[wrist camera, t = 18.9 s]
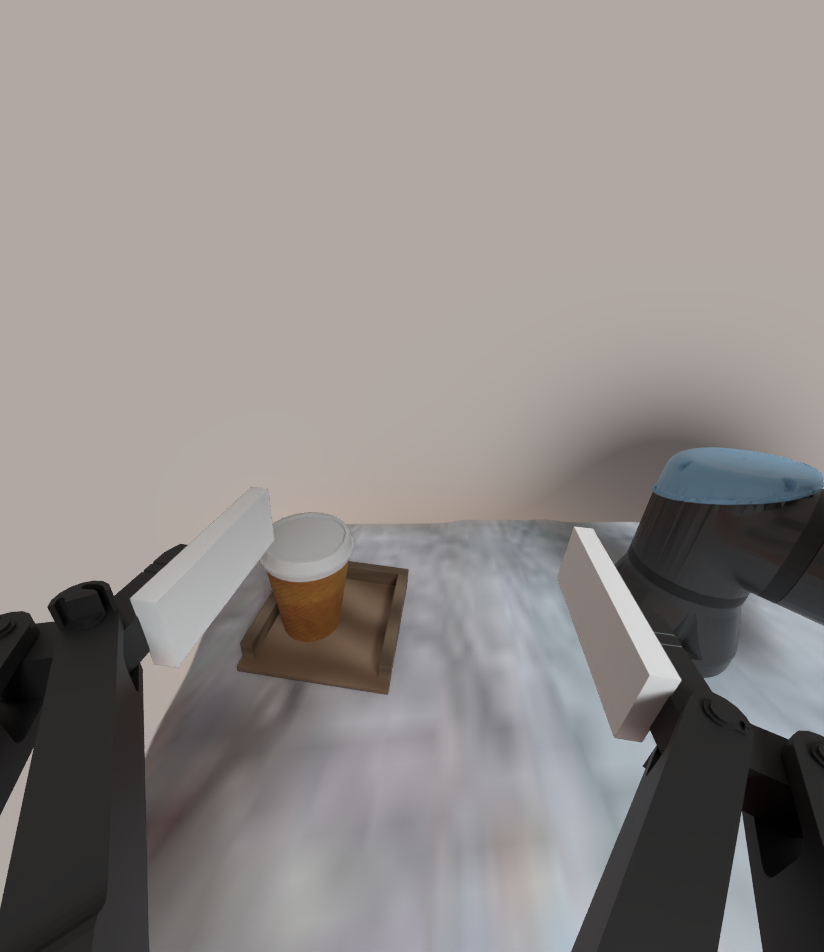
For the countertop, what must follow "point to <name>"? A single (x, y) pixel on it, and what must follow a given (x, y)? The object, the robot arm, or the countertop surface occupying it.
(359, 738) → the countertop surface
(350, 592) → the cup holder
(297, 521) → the disposable coffee cup
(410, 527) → the countertop surface
